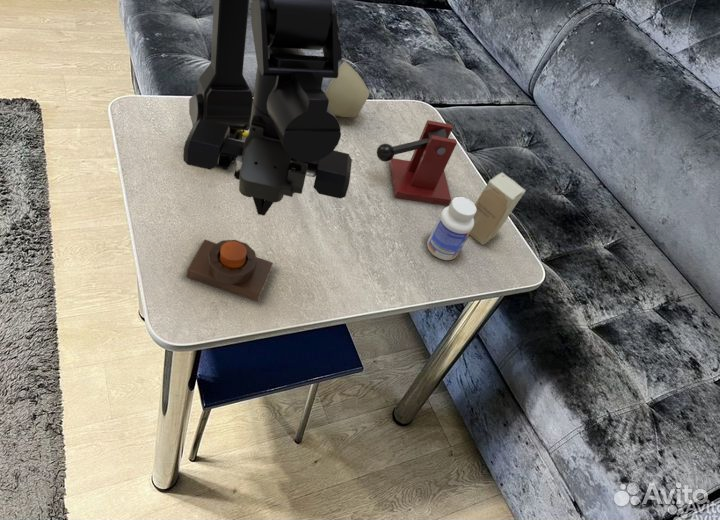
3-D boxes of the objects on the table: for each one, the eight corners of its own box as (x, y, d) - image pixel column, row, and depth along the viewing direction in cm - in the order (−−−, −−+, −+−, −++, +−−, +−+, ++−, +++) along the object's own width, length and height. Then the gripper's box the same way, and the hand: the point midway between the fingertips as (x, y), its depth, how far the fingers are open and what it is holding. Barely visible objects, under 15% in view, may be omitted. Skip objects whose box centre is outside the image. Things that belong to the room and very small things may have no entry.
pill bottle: (458, 264, 94) (483, 222, 87) (427, 257, 93) (449, 214, 86) (455, 239, 98) (479, 197, 91) (425, 233, 97) (446, 190, 90)
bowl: (343, 138, 112) (311, 118, 111) (362, 106, 117) (331, 87, 116) (364, 104, 103) (329, 82, 103) (382, 71, 109) (349, 50, 108)
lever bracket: (394, 197, 101) (417, 143, 92) (389, 163, 107) (409, 109, 98) (448, 205, 103) (475, 153, 95) (440, 172, 109) (464, 120, 101)
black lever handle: (379, 167, 99) (375, 153, 97) (377, 155, 101) (374, 142, 99) (449, 150, 98) (447, 136, 96) (446, 139, 100) (443, 125, 98)
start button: (215, 263, 78) (216, 255, 76) (224, 246, 80) (226, 237, 79) (240, 272, 78) (241, 263, 76) (248, 254, 80) (250, 246, 79)
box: (460, 227, 100) (487, 179, 92) (473, 217, 103) (501, 170, 95) (484, 246, 99) (513, 199, 91) (497, 236, 101) (527, 189, 93)
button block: (186, 278, 79) (187, 261, 76) (204, 246, 83) (205, 229, 80) (257, 302, 79) (261, 286, 77) (271, 269, 83) (275, 253, 81)
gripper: (171, 123, 56) (168, 240, 67) (359, 167, 59) (328, 273, 69) (199, 70, 64) (193, 182, 75) (364, 110, 67) (335, 213, 77)
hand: (261, 213), depth 74 cm, fingers closed
